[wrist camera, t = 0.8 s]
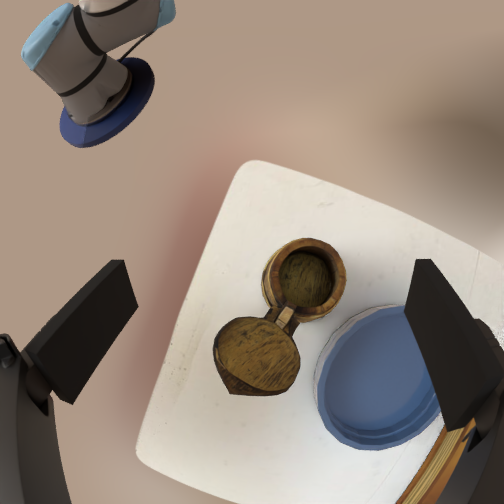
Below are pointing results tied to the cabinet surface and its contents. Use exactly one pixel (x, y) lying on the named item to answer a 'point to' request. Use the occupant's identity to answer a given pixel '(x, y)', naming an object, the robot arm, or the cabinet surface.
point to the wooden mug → (279, 319)
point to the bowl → (374, 382)
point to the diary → (437, 467)
